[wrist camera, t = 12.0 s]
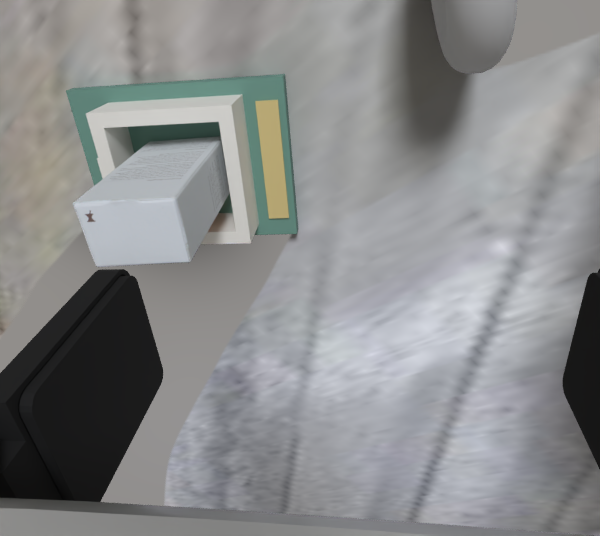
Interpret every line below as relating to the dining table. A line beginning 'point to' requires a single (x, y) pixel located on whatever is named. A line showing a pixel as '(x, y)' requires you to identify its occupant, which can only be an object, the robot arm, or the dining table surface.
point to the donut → (474, 32)
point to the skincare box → (155, 203)
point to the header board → (199, 124)
